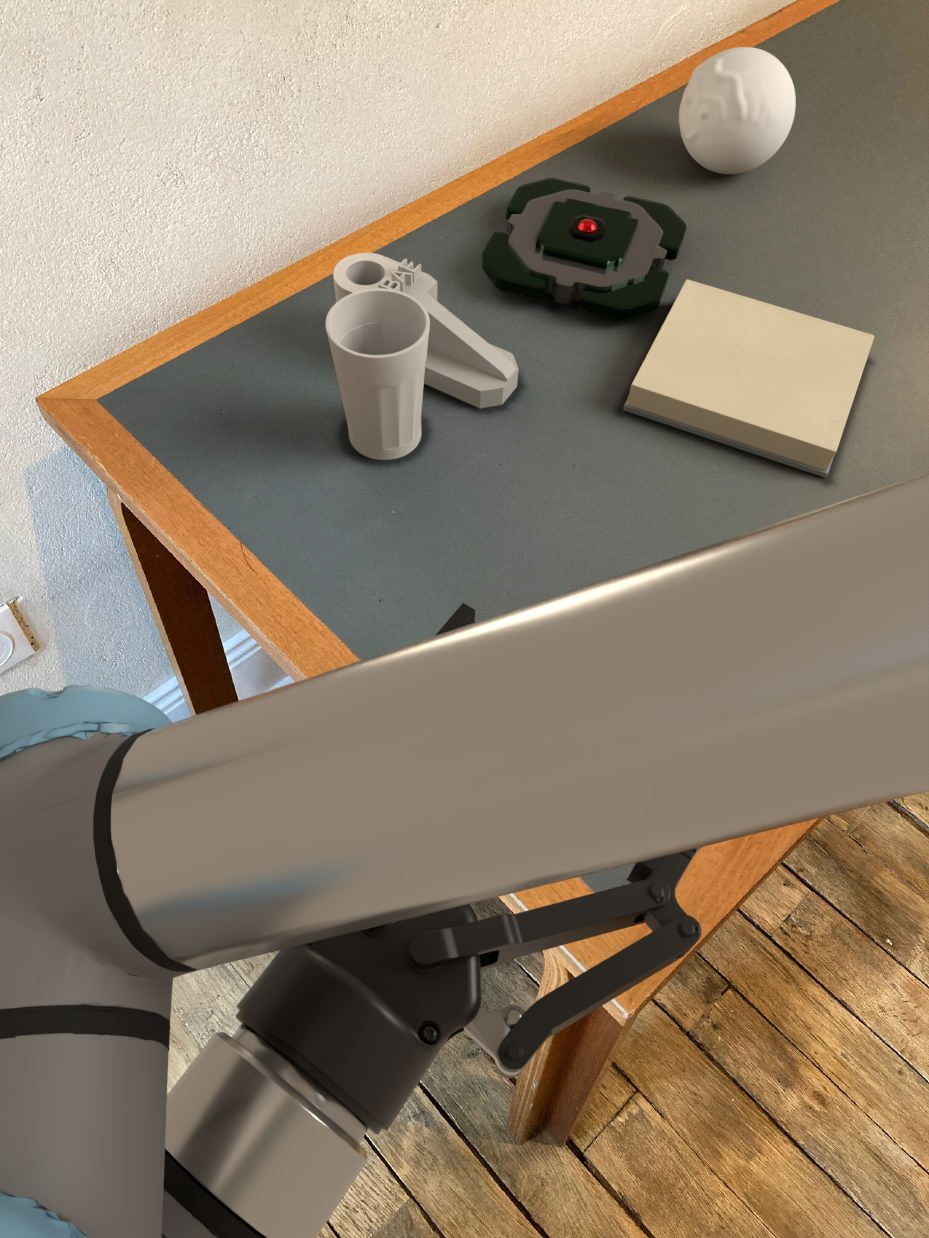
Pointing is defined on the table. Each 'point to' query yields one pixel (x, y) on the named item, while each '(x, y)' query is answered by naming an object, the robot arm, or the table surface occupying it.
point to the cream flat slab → (752, 376)
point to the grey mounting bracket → (437, 332)
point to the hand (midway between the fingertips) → (582, 688)
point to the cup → (380, 368)
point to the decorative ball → (737, 110)
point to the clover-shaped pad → (585, 248)
